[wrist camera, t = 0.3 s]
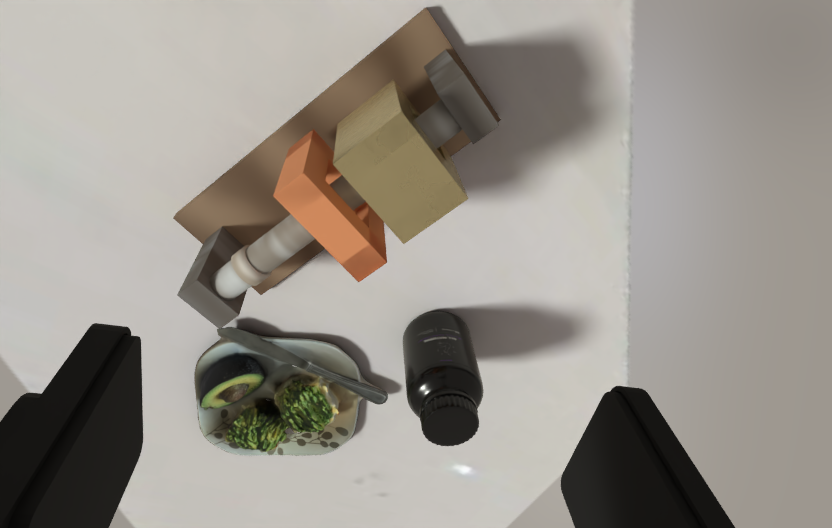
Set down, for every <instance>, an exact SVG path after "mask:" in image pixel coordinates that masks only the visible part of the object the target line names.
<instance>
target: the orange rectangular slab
mask: <svg viewBox="0 0 832 528" xmlns="http://www.w3.org/2000/svg"><path fill="white" fill-rule="evenodd" d="M333 159H334V152H333V150H332V149H331V148H330V147H329V146H328V145H327V144H326V142H325V141H324V140H323V139H322V138H321V137H320V136H319V134H318V133H317V132H316V131H315V130H314V129H313V130H311V131H310V132H309V133H308V134H306V135H305V136H304V137H303V138H301V139H300V140H299V141H298V142H297V143H295V144H294V145H293V146H292V147H290V148H289V150H288V153H287V156H286V159H285V162H284V165H283V168H282V171H281V174H280V177H279V180H278V183H277V186H276V189H275V192H274V195H273V197H274V198H275V199H276V200H277V201H278V202H279V203H280V204H281V205H282V206H283V207H284V208H285V209H286V210H287V211H288V212H289V213H290V214H291V215H292V216H293V217H294V218H295V219H296V220H297V221H298V222H299V223H300V224H301V225H302V226H303V227H304V228H305V229H306V230H307V231H308V232H309V233H310V234H311V235H312V236H313V237H314V238H315V239H316V240H317V241H318V242H319V243H320V244H321V245H322V246H323V247H324V248H325V249H326V250H327V251H328V252H329V253H330V254H331V255H332V256H333V257H334V258H335V259H336V260H337V261H338V262H339V263H340V264H341V265H342V266H343V267H344V268H345V269H346V270H347V271H348V272H349V273H350V274H351V275H352V276H353V277H354V278H355V279H356V280H357V281H358V282H360V281H361V280H363V279H364V278H366V277H367V276H368V275H370V274H371V273H373V272H374V271H376V270H377V269H378V268H380V267H381V266H383V265H384V264H386V263H387V257H386V245H385V234H384V222H383V220H382V219H381V218H380V217H379V216H378V215H377V213H376V212H375V211H374V210H373V209H372V208H371V207H370V206H369V204H368V203H367V202H364V203H363V204H362V205H360V206H359V207H358V208H356V209H355V210H352V209H351V208H350V207H349V206H348V205H347V204H346V202H345V201H344V200H343V199H342V198H341V197H340V196H339V195H338V194H337V193H336V192H335V190H334V189H333V188H332V187H331V186H330V184H331V183H332V182H333V181H335V180H336V179H337V178H339V177H340V176H341V175H342V174H341V173H340V172H339V171H338V170H337V168H336V167H335V166H334V165H333Z"/></svg>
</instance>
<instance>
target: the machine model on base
mask: <svg viewBox="0 0 832 528" xmlns="http://www.w3.org/2000/svg"><path fill="white" fill-rule="evenodd" d="M393 79H394V81H395V82H396V83H397V85H398V86H399V87H400V89H401V90H402V91H403V93H404V94H405V95H406V97H407V98H408V99H409V101H410V102H411V103H412V105H413V106H414V107H415V109H416V110H417V111H418V113H419V114H420V115H419V116H418V117H417V118H416V119H415V121H416V122H417V123H418V125H419V126H420V127H421V129H422V130H423V131H424V133H425V134H426V135H427V137H428V138H429V139H430V140H431V142H432V143H433V144H434V146H435V147H436V148H438V147H440V146H441V145H443V146H444V147H445V149H446V150H447V151H448V153H449V154H450V156H452V155H453V154H455V153H456V152H457V151H459V150H460V149H462V148H463V147H464V146H466V145H467V144H468V143H470V142H472V143H473V144H474V143H476V142H477V141H478V140H480V139H481V138H482V137H484V136H485V135H487V134H488V133H489V132H491V131H492V130H493V129H495V128H496V127H498V126H499V124H498V123H497V122H499V121H500V120H501V119H500V118H499V116H498V115H497V113H496V112H495V110H494V109H493V107H492V106H491V104H490V103H489V101H488V100H487V98H486V97H485V95H484V94H483V92H482V91H481V89H480V88H479V86H478V85H477V83H476V82H475V80H474V79H473V77H472V76H471V74H470V73H469V71H468V70H467V68H466V67H465V65H464V64H463V62H462V61H461V59H460V58H459V56H458V55H457V53H456V52H455V50H454V49H453V47H452V46H451V44H450V43H449V41H448V40H447V38H446V37H445V35H444V34H443V32H442V31H441V29H440V28H439V26H438V25H437V23H436V22H435V20H434V19H433V17H432V16H431V14H430V13H429V11H428V10H427V9H426V8H424V9H423V10H422V11H421V12H420V13H418V14H417V15H416V16H415V17H414V18H412V19H411V20H410V21H409V22H407V23H406V24H405V25H404V26H403V27H401V28H400V29H399V30H398V31H397V32H395V33H394V34H393V35H392V36H391V37H389V38H388V39H387V40H386V41H384V42H383V43H382V44H381V45H380V46H378V47H377V48H376V49H375V50H374V51H372V52H371V53H370V54H369V55H367V56H366V57H365V58H364V59H363V60H361V61H360V62H359V63H358V64H357V65H355V66H354V67H353V68H352V69H351V70H349V71H348V72H347V73H346V74H344V75H343V76H342V77H341V78H340V79H338V80H337V81H336V82H335V83H334V84H332V85H331V86H330V87H329V88H327V89H326V90H325V91H324V92H323V93H321V94H320V95H319V96H318V97H317V98H315V99H314V100H313V101H312V102H311V103H309V104H308V105H307V106H306V107H304V108H303V109H302V110H301V111H300V112H298V113H297V114H296V115H295V116H294V117H292V118H291V119H290V120H289V121H287V122H286V123H285V124H284V125H283V126H281V127H280V128H279V129H278V130H277V131H275V132H274V133H273V134H272V135H271V136H269V137H268V138H267V139H266V140H264V141H263V142H262V143H261V144H260V145H258V146H257V147H256V148H255V149H254V150H252V151H251V152H250V153H249V154H248V155H246V156H245V157H244V158H243V159H241V160H240V161H239V162H238V163H237V164H235V165H234V166H233V167H232V168H231V169H229V170H228V171H227V172H226V173H224V174H223V175H222V176H221V177H220V178H218V179H217V180H216V181H215V182H214V183H212V184H211V185H210V186H209V187H208V188H206V189H205V190H204V191H203V192H201V193H200V194H199V195H198V196H197V197H195V198H194V199H193V200H192V201H191V202H189V203H188V204H187V205H186V206H184V207H183V208H182V209H181V210H180V211H178V212H177V213H176V215H175V216H174V219H175V220H176V221H177V222H178V223H179V224H181V225H182V226H183V227H184V228H185V229H186V230H187V231H189V232H190V233H191V234H192V235H193V236H194V237H195V238H197V239H198V240H199V241H200V242H201V243H202V244H203V246H202V248H201V250H200V252H199V253H198V255H197V257H196V259H195V261H194V263H193V265H192V267H191V269H190V271H189V273H188V275H187V277H186V279H185V281H184V283H183V285H182V287H181V289H180V291H179V293H178V296H179V297H180V298H181V299H183V300H184V301H185V302H186V303H188V304H189V305H190V306H191V307H193V308H194V309H195V310H196V311H198V312H199V313H200V314H201V315H203V316H204V317H205V318H206V319H208V320H209V321H210V322H211V323H213V324H214V325H215V326H216V327H218V328H219V329H220V328H222V327H223V326H225V325H226V324H227V323H229V322H230V321H231V320H233V319H234V318H236V317H237V316H238V315H239V313H240V310H241V307H242V304H243V301H244V298H245V294H246V291H247V289H248V288H250V287H252V288H254V289H255V290H256V291H257V292H258V293H259V294H260V295H262V294H263V293H265V292H266V291H267V290H269V289H270V288H272V287H273V286H274V285H276V284H277V283H278V282H280V281H281V280H282V279H284V278H285V277H287V276H288V275H289V274H291V273H292V272H293V271H295V270H296V269H298V268H299V267H300V266H302V265H303V264H304V263H306V262H307V261H308V260H310V259H311V258H313V257H314V256H315V255H317V254H318V253H319V252H321V251H322V250H323V249H325V248H324V247H323V246H322V245H321V244H320V243H319V242H318V241H317V240H316V239H315V238H314V237H313V236H312V235H311V234H310V233H309V232H308V231H307V230H306V229H305V228H304V227H303V226H302V225H301V224H300V223H299V222H298V221H297V220H296V219H295V218H294V217H293V216H292V215H291V214H290V213H289V212H288V211H287V210H286V209H285V208H284V207H283V206H282V205H281V204H280V203H279V202H278V201H277V200H276V199H275V198H274V197H273V195H274V192H275V189H276V186H277V183H278V180H279V177H280V174H281V171H282V168H283V165H284V162H285V159H286V156H287V153H288V150H289V148H290V147H292V146H293V145H294V144H295V143H297V142H298V141H299V140H300V139H301V138H303V137H304V136H305V135H306V134H308V133H309V132H310V131H311V130H313V129H314V130H315V131H316V132H317V133H318V134H319V136H320V137H321V138H322V139H323V140H324V141H325V142H326V144H327V145H328V146H329V147H330V148H331V149H332V150H333V152H334V150H335V141H336V133H337V124H338V123H339V122H341V121H342V120H343V119H344V118H346V117H347V116H348V115H349V114H351V113H352V112H353V111H354V110H356V109H357V108H358V107H360V106H361V105H362V104H363V103H365V102H366V101H367V100H368V99H370V98H371V97H372V96H373V95H375V94H376V93H377V92H378V91H380V90H381V89H382V88H383V87H385V86H386V85H387V84H388V83H390V82H391V81H392V80H393ZM330 186H331V187H332V188H333V189H334V190H335V192H336V193H337V194H338V195H339V196H340V197H341V198H342V199H343V200H344V201H345V202H346V204H347V205H348V206H349V207H350V208H351V209H352V210H355V209H356V208H358V207H359V206H360V205H362V204H363V203H364V202H366V201H365V200H364V199H363V198H362V197H361V195H360V194H359V193H358V192H357V191H356V190H355V189H354V188H353V186H352V185H351V184H350V183H349V182H348V181H347V180H346V179H345V177H344V176H343V175H341V176H340V177H339V178H337V179H336V180H335V181H333V182H332V183H331V184H330Z"/></svg>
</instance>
